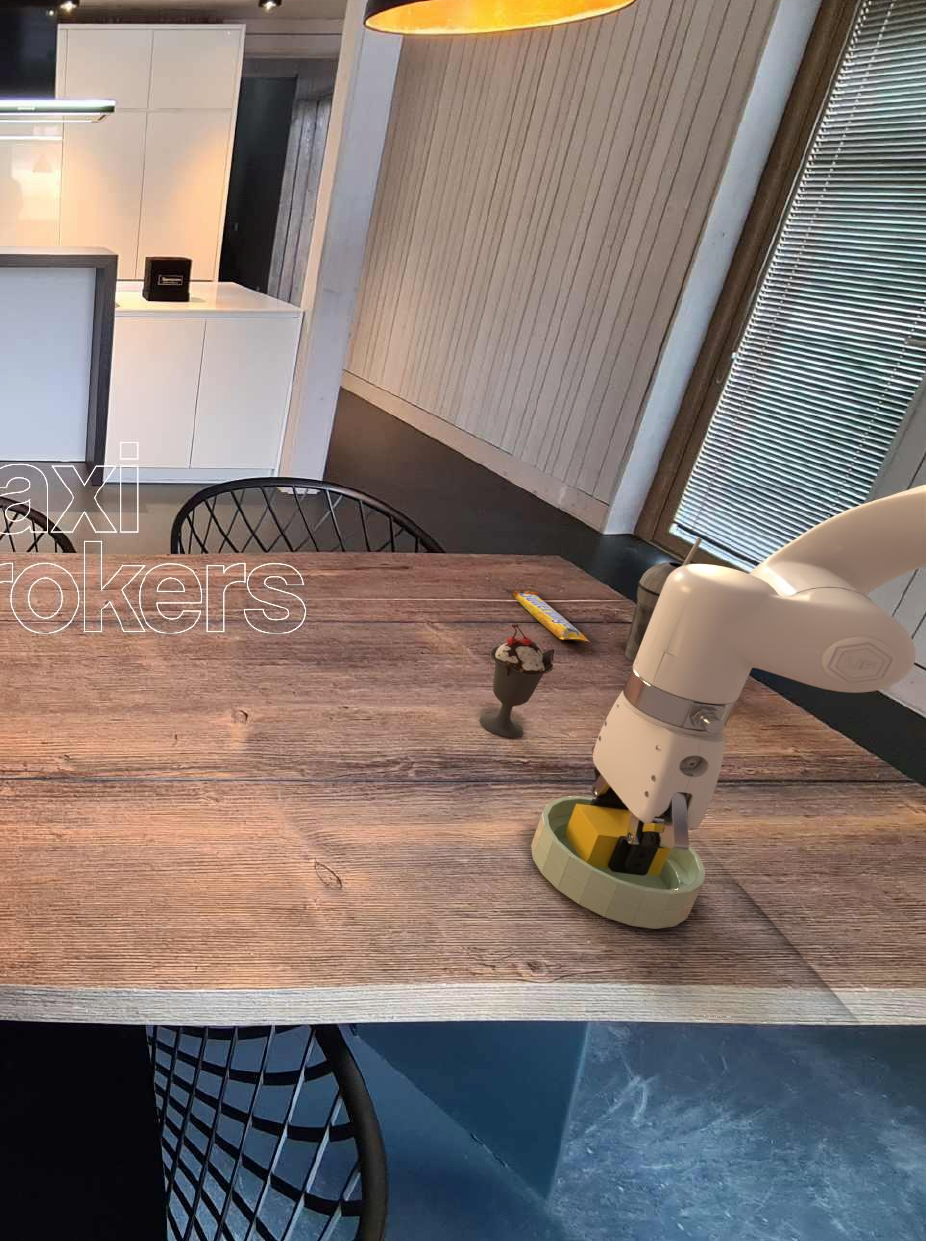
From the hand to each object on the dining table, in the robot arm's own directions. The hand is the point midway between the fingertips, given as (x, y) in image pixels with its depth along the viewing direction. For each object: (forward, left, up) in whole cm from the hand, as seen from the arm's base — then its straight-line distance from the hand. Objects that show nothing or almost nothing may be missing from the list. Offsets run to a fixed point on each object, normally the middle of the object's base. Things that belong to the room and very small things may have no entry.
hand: (612, 850), depth 81 cm
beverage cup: (-28, -48, -4) cm, 56 cm away
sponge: (0, 0, -1) cm, 1 cm away
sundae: (0, -26, -4) cm, 26 cm away
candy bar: (-19, -58, -4) cm, 61 cm away
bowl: (0, 0, -4) cm, 4 cm away
